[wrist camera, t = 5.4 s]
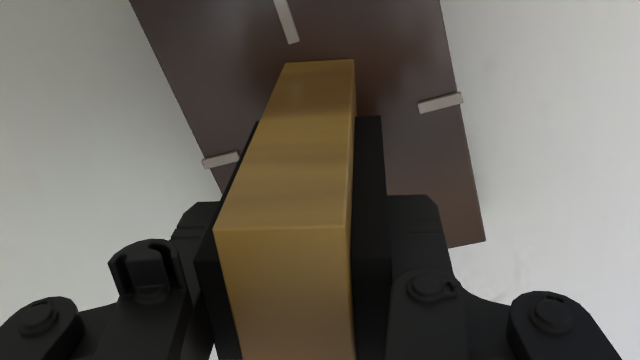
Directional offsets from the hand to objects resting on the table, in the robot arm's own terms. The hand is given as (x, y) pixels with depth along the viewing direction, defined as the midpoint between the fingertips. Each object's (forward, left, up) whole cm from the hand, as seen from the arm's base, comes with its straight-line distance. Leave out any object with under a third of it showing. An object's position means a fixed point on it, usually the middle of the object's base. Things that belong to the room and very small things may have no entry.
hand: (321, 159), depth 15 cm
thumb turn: (0, 0, -2) cm, 2 cm away
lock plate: (0, 0, -4) cm, 4 cm away
